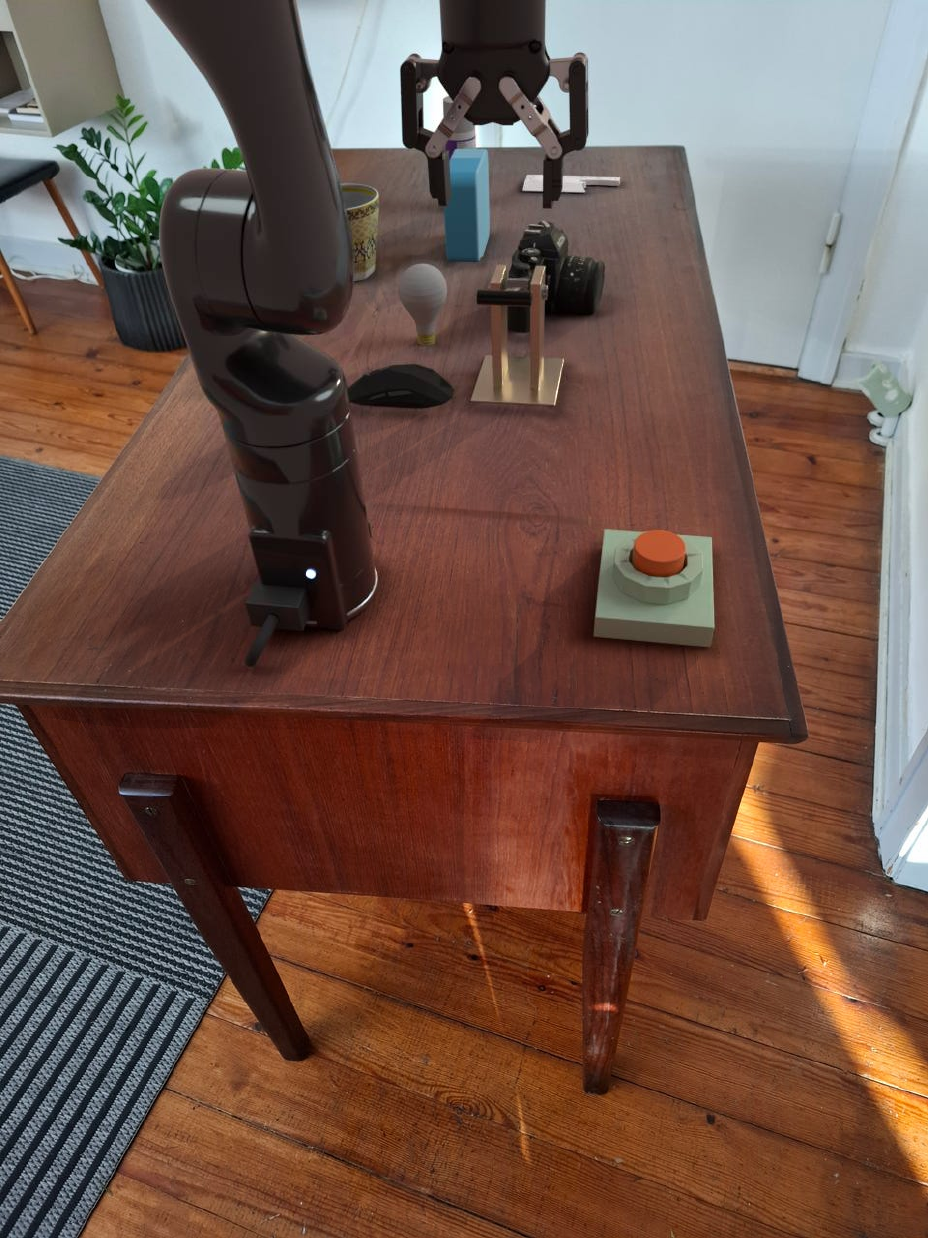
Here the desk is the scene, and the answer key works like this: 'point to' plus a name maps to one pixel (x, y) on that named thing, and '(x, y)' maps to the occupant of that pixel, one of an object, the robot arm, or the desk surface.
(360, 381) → the gaming mouse
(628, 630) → the button block
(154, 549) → the desk surface
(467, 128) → the container
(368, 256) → the ceramic cup
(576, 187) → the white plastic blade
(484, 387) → the bracket
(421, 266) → the light bulb
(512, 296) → the lever
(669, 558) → the button
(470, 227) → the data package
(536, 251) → the film camera
